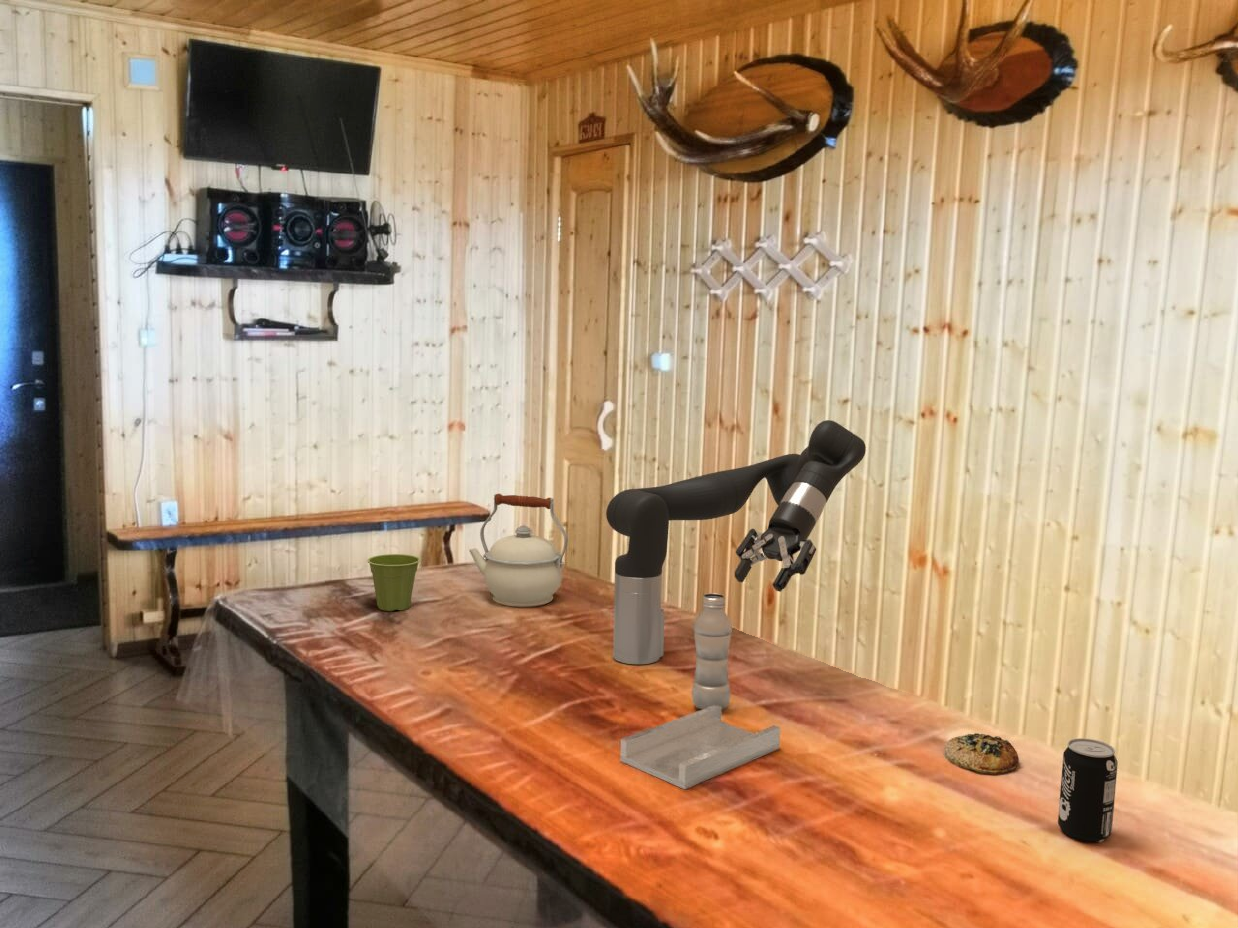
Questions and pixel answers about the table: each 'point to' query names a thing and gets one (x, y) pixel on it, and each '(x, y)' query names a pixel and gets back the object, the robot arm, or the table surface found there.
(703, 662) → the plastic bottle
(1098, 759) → the beverage can
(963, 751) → the bread roll
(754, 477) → the robot arm
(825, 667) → the table surface
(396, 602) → the plant pot
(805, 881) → the table surface
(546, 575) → the kettle
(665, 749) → the aluminium track
